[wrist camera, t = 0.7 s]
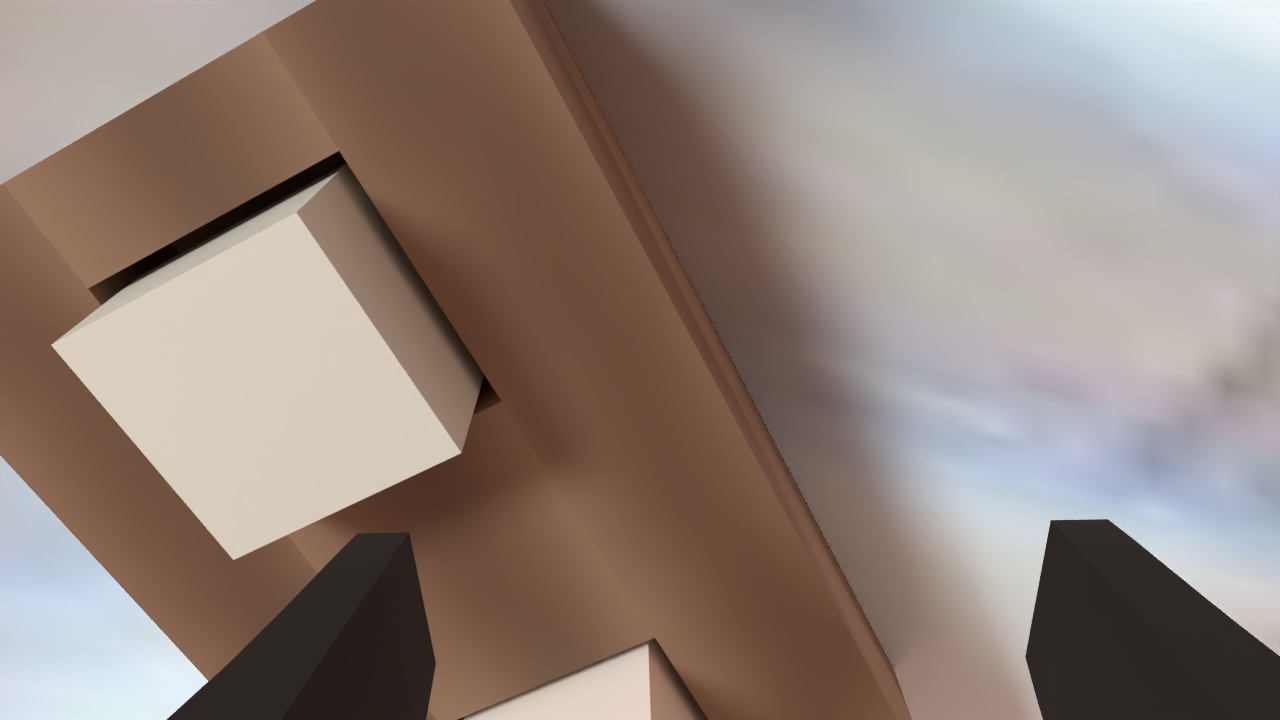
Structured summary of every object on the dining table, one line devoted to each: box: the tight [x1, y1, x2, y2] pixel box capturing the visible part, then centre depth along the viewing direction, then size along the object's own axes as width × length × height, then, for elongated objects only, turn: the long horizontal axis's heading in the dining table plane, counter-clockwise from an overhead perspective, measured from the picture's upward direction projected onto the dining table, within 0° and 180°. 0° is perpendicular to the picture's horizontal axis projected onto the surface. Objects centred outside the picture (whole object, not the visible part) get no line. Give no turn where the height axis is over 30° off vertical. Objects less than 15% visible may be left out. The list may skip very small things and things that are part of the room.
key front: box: [51, 163, 484, 560], centre depth 16 cm, size 4×4×3 cm
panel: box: [0, 0, 911, 720], centre depth 21 cm, size 12×20×4 cm, turn 27°
